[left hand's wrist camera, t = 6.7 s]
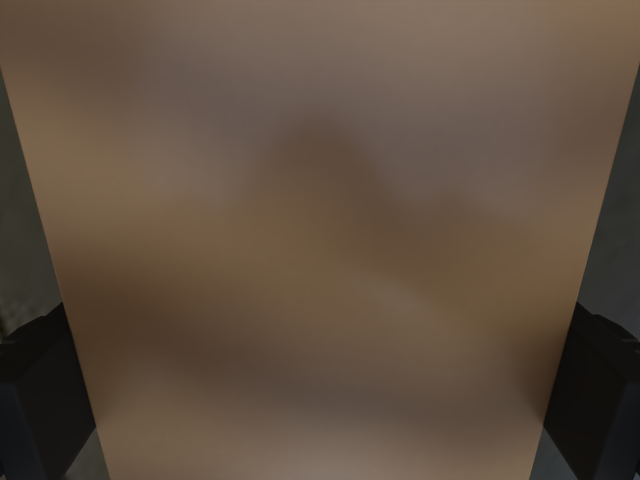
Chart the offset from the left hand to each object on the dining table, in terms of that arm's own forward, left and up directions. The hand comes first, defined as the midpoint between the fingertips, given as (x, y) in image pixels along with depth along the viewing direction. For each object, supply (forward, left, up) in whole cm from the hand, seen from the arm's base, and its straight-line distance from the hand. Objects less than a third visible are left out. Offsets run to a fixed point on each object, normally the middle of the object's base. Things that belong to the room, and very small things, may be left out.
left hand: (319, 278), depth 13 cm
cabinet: (+1, +6, -4) cm, 7 cm away
